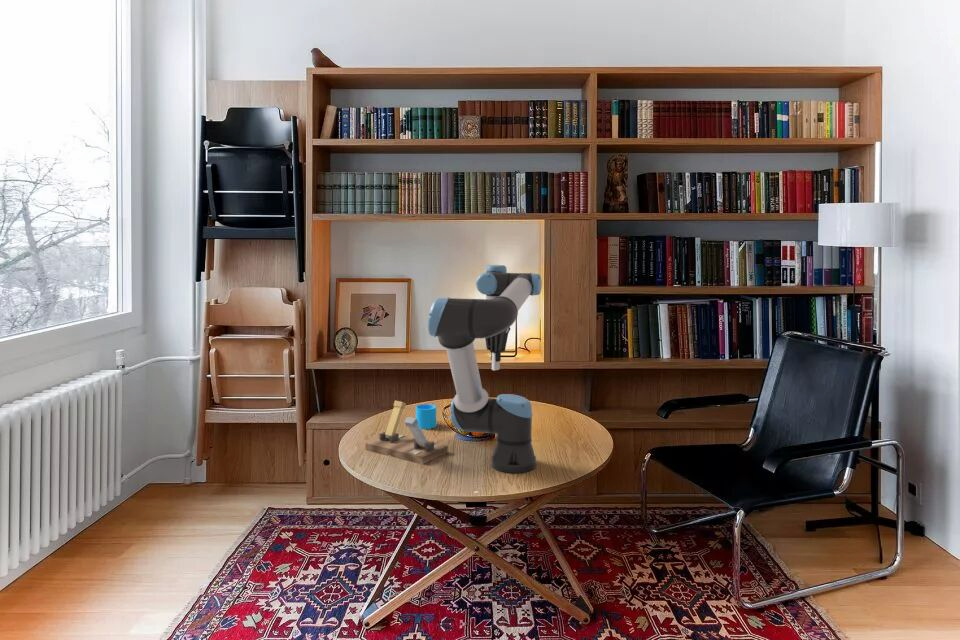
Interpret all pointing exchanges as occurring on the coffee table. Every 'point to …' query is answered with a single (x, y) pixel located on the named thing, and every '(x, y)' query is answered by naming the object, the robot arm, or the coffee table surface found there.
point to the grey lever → (416, 431)
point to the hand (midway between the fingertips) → (495, 369)
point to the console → (406, 448)
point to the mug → (426, 416)
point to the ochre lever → (395, 418)
